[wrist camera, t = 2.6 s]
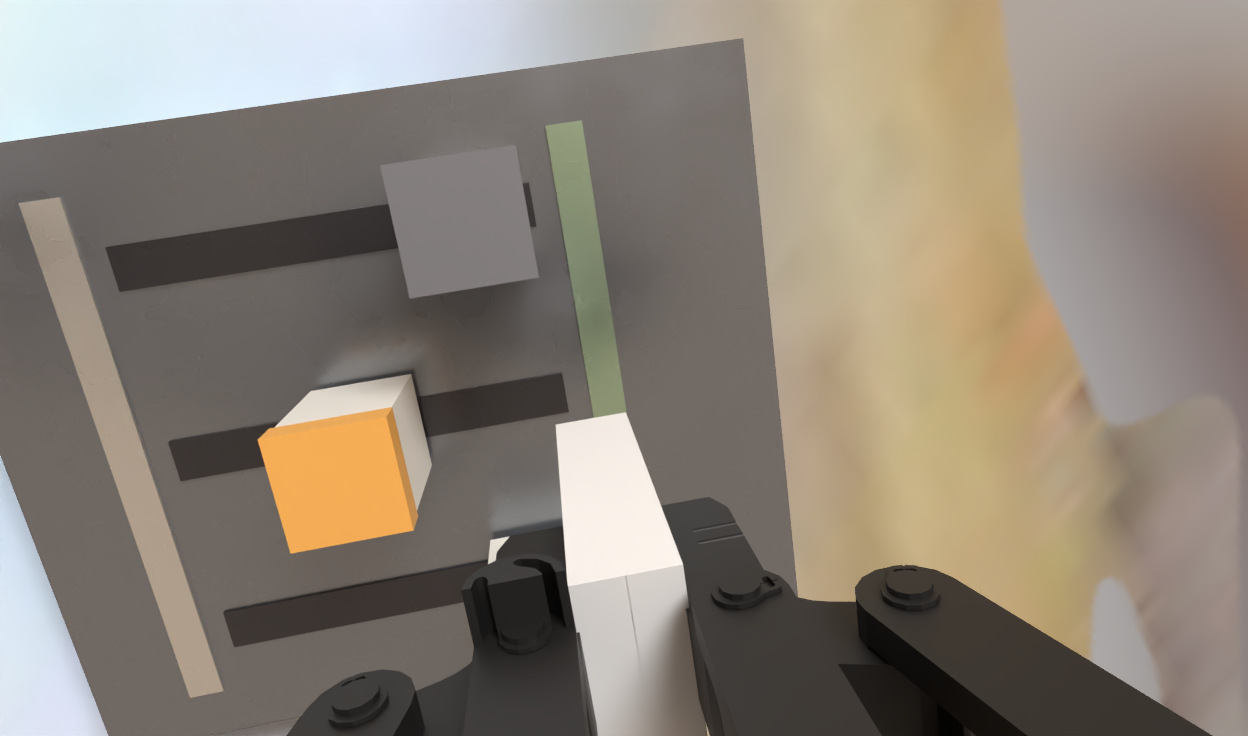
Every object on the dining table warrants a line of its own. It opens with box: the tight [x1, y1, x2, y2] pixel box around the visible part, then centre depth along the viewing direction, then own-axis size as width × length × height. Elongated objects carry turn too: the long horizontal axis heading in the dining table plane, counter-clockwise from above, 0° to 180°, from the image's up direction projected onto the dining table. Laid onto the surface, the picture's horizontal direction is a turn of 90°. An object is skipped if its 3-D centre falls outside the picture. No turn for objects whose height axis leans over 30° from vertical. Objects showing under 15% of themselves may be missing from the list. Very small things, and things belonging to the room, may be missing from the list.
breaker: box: [380, 145, 539, 299], centre depth 19 cm, size 3×3×4 cm
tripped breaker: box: [258, 374, 432, 554], centre depth 20 cm, size 3×3×4 cm
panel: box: [0, 38, 798, 736], centre depth 23 cm, size 22×18×2 cm
